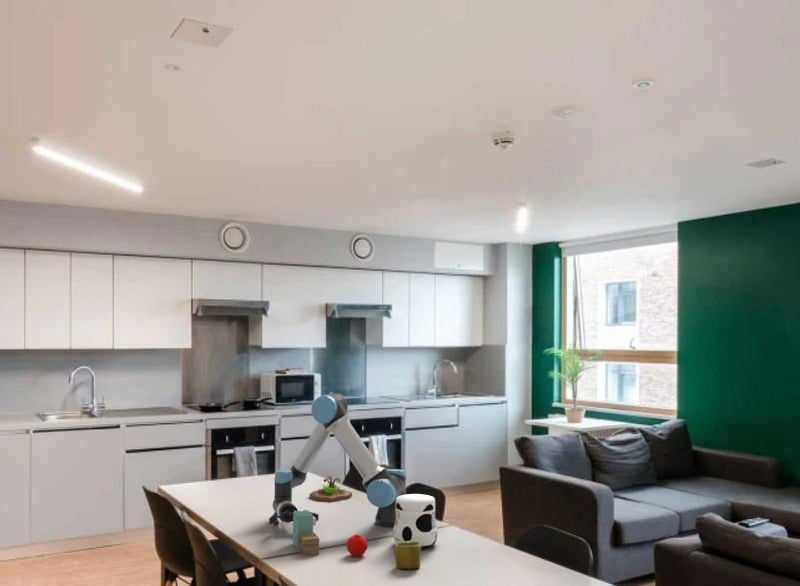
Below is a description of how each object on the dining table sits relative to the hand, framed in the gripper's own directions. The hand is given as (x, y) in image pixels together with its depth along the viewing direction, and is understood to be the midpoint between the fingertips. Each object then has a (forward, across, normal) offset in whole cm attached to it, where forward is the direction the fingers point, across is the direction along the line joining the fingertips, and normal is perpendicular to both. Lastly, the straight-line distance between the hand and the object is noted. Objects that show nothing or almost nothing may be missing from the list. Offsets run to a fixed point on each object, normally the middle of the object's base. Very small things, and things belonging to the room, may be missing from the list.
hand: (298, 523), depth 279 cm
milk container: (+19, -42, -7) cm, 47 cm away
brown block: (+14, -1, -7) cm, 16 cm away
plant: (-72, -32, -8) cm, 80 cm away
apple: (+25, -17, -7) cm, 31 cm away
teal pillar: (+5, -1, -7) cm, 9 cm away
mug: (+42, -31, -7) cm, 52 cm away
